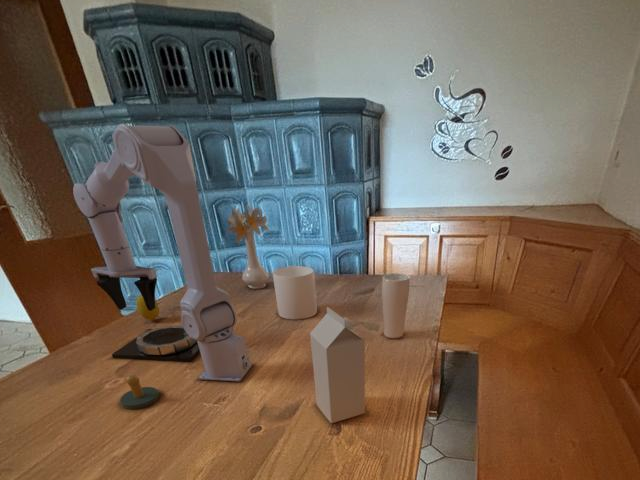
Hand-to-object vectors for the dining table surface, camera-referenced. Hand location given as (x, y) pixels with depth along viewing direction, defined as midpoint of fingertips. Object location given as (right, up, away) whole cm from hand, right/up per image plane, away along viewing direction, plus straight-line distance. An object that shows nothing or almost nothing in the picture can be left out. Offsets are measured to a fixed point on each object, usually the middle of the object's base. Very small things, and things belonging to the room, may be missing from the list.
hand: (137, 308), depth 93 cm
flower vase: (+17, +22, +45) cm, 53 cm away
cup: (+35, +6, +24) cm, 43 cm away
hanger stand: (+9, -23, -15) cm, 29 cm away
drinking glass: (+63, -4, +10) cm, 64 cm away
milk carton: (+50, -26, -19) cm, 59 cm away
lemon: (-7, +3, +20) cm, 21 cm away
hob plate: (+5, -8, +6) cm, 11 cm away
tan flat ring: (+6, -7, +4) cm, 10 cm away
